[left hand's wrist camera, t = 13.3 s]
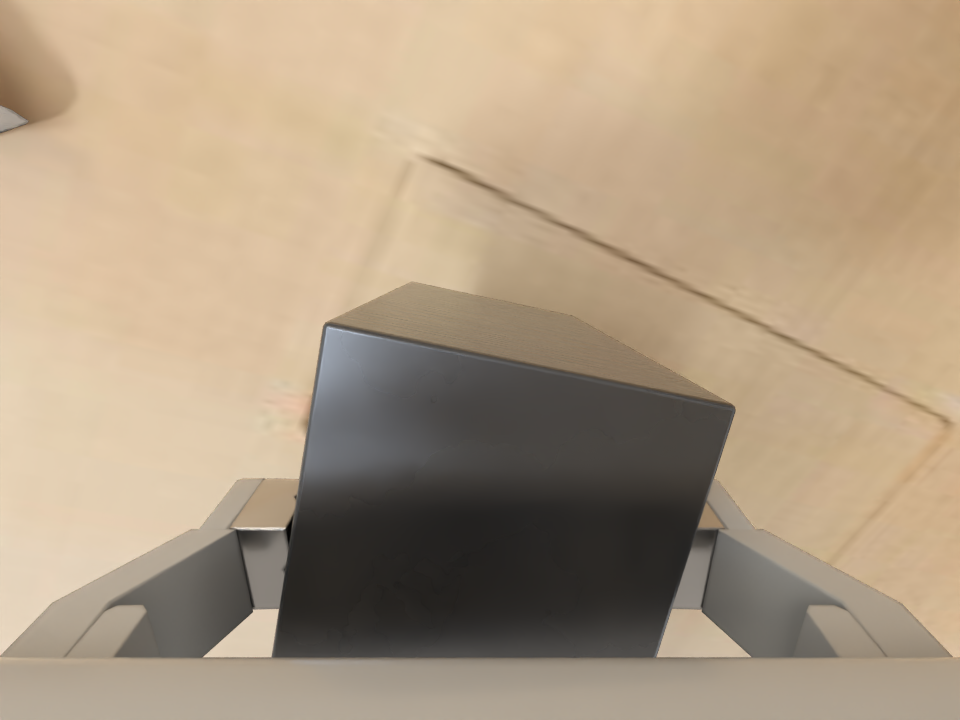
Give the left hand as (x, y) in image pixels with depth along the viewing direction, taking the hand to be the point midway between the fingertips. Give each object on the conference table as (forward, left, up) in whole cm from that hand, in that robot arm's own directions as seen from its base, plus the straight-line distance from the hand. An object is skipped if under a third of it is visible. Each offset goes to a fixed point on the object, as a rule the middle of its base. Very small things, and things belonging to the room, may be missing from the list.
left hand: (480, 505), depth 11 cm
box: (+9, -2, -7) cm, 12 cm away
